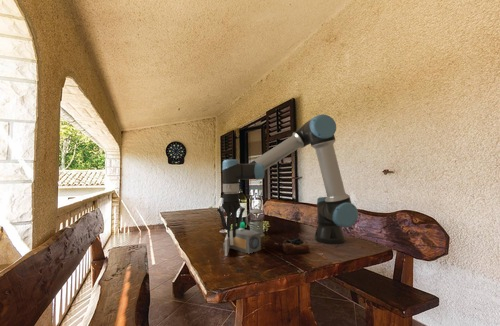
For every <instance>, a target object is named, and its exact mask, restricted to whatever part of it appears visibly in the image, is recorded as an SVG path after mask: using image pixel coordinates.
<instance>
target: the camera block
mask: <svg viewBox="0 0 500 326" xmlns="http://www.w3.org/2000/svg"><path fill="white" fill-rule="evenodd" d="M261 238H262V237H261V233H259V232H254V231H250V229H243V228H239V229H237V230H236V237H234V244H233V245H230V249H232V250H235V251H238V252H242V253H245V254H247V253H248V255H251V254H253V252H254V253H256V252H258V251H261V250H262V242H261V241H262V240H261ZM250 253H251V254H250Z"/></svg>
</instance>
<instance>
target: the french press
mask: <svg viewBox="0 0 500 326" xmlns="http://www.w3.org/2000/svg"><path fill="white" fill-rule="evenodd" d="M253 195H254V196H257V195H258V192H254V193H253ZM262 213H264V212H263V210H262V209H259V208H253V209H251V210H249V215H252V214H262ZM245 218H246V220H245V223H246V224H248V226H249V231H254V232H259V233H261V238H262V237H265V235H266V234H265V233H264V226H263V225H264V221H263V217H257V216H254V217H251V218H250V221H249V219H248V218H249V216H248V215H246V216H245ZM248 222H249V223H248Z"/></svg>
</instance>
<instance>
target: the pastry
mask: <svg viewBox="0 0 500 326" xmlns="http://www.w3.org/2000/svg"><path fill="white" fill-rule="evenodd" d="M281 244H282V245H281V248H282V250H283V252H284V253H285V254H286V255H304V254H309V253H310V252H309V251H310V246H309V245H308V243H307V242H306V241H304V240H303V239H302V238H297V237H296V238H294V239H292V240H291V239H284V241H282V243H281Z"/></svg>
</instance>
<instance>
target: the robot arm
mask: <svg viewBox="0 0 500 326" xmlns="http://www.w3.org/2000/svg"><path fill="white" fill-rule="evenodd" d="M336 131H337V123H336V121H335V120H334V118H333V117H331V116H330V115H328V114H323V113H322V114H319V115H316V116H313V117H312V118H311V119H310V120H307V121H306V122H305V123H304V124H303V125H302V126H300V127H299V128H298V129H297V130H295V131H293V132H292V135H291V136H289V137H288V138H287V139H285V140H283V141H282V142H280V143H279V144H277V145H275V146H274V147H273V148H271V149H269V150H268V151H266V152H264V153H262V154H261V155H260V156H258V157H257V158H255V159H254V160H252V161H250V162H249V163H240V162H239V159H236V158H235V159H224V160H223V161H222V169H221V171H222V192H223V194H222V205H221V206H220V207H218V208H217V213H219V216H220V220H221V223H222V228H223V229H224V230H225V231H226V230H227V231H226V232H227V233H228V237H230V245H233V244H234V237H236V230H237V229H239V228H240V224H241V222H242V219H243V214H244V212H245V211H246V207H243V206H241V203H240V193H239V192H240V181H241V180H243V181H244V180H253V181H254V180H257V181H258V180H263V179H264V178H265V171H266V170H267V169H268V168H270V167H272V166H274V165H275V164H277V163H279V162H280V161H281V160H283V159H284V158H286V157H287V156H289V155H290V154H292V153H294V152H295V151H297V150H298V149H300V148H301V149H303V148H305V147H307V146H309V145H310V146H311V148H312V149H313V148H314V149H315V153H316V157H317V161H318V166H319V170H320V173H321V178H322V181H323V186H324V189H325V194H326V196H321V197H317V200H316V209H317V227H316V230H315V233H314V240H315V241H316V242H318V243H323V244H330V245H332V244H333V245H335V244H336V245H337V244H343V243H344V242H345V235H344V232H343V229H342V228H349V227H351V226H353V225H354V224H355V223H356V221H357V220H358V217H359V210H358V208H357V207H356V205H355V204H353V203H352V201H351V197H350V195H349V194H348V193H346V190H345V186H344V184H343V183H344V182H343V178H342V175H341V174H342V173H341V171H340V167H339V164H338V159H337V155H336V151H335V147H334V143H335V142H336V137H335V133H336ZM238 210H239V214H238V218H237V212H238ZM224 211H225V213H226V217H225V213H224ZM231 217H232V219H231ZM231 223H232V225H231ZM227 233H226V234H227Z"/></svg>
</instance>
